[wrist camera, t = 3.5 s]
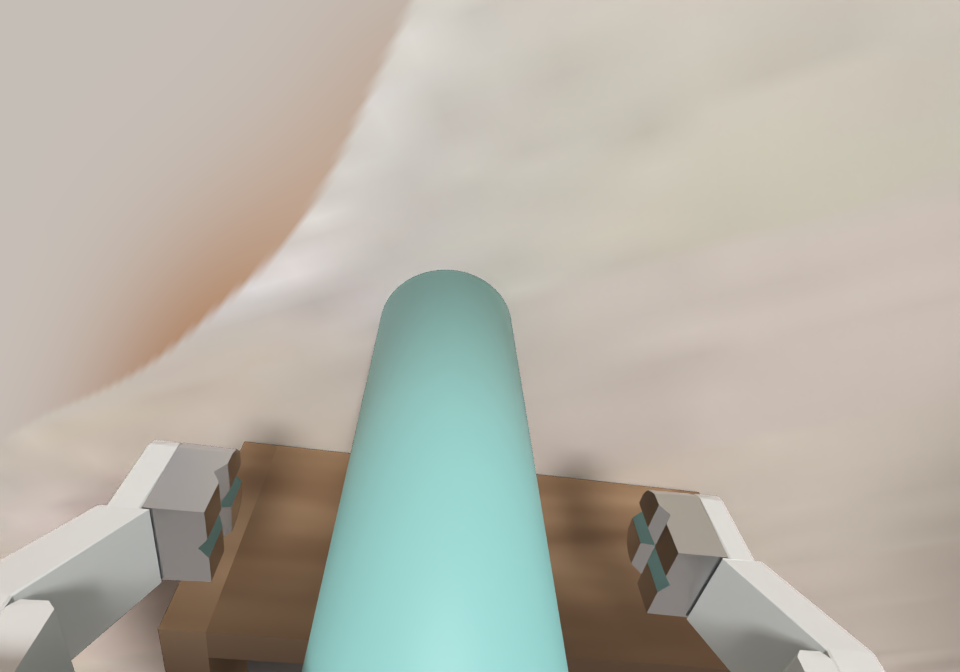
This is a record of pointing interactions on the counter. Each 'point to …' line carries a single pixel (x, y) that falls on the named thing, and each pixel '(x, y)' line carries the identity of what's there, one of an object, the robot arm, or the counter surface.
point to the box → (304, 550)
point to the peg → (440, 501)
